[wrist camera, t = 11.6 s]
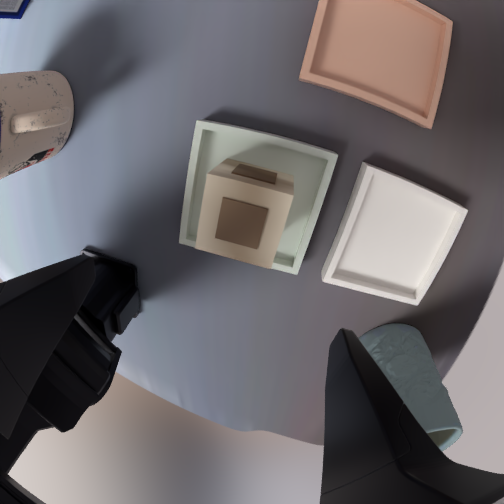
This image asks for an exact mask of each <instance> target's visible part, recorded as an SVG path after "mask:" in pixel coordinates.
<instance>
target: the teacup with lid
mask: <svg viewBox="0 0 504 504" xmlns="http://www.w3.org/2000/svg"><path fill="white" fill-rule="evenodd" d="M73 116H74V100H73V94H72V90H71V87H70V85H69V83H68V81H67V79H66V78H65V77H64V76H63V75H62V74H60V73H59V72H56V71H29V72H17V73H7V74H0V179H2V178H4V177H6V176H8V175H10V174H13V173H15V172H17V171H19V170H22V169H24V168H26V167H29V166H31V165H34V164H36V163H39V162H41V161H44V160H46V159H49V158H51V157H53V156H54V155H56V154H57V153H58V152H59V151H60V150H61V149H62V147H63V146H64V144H65V142H66V140H67V138H68V136H69V133H70V130H71V127H72V122H73Z"/></svg>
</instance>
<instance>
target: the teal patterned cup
mask: <svg viewBox="0 0 504 504" xmlns="http://www.w3.org/2000/svg"><path fill="white" fill-rule="evenodd" d="M358 339H359V340H360V341H361V343H362V344H363V345H364V347H365V348H366V350H367V351H368V352H369V354H370V355H371V356H372V358H373V359H374V361H375V362H376V363H377V365H378V366H379V367H380V369H381V370H382V372H383V373H384V374H385V376H386V377H387V379H388V380H389V381H390V383H391V384H392V386H393V387H394V389H395V390H396V391H397V393H398V394H399V396H400V397H401V399H402V400H403V401H404V403H405V404H406V406H407V407H408V409H409V410H410V411H411V413H412V414H413V416H414V417H415V418H416V420H417V421H418V422H419V424H420V425H421V426H422V428H423V429H424V430H425V431H426V433H427V434H428V435H429V436H430V437H431V439H432V440H433V441H434V442H435V444H436V445H437V446H438V447H439V448H440V450H441V451H444V450H445V449H447V448H448V447H450V446H451V445H452V444H453V443H455V442H456V441H457V440H458V439H459V437H460V436H461V434H462V432H463V430H462V426H461V423H460V420H459V418H458V415H457V413H456V411H455V409H454V407H453V404H452V402H451V400H450V397H449V395H448V391H447V389H446V388H445V386H444V385H443V384H442V380H441V378H440V375H439V372H438V370H437V369H436V365H435V363H434V361H433V360H432V356H431V352H430V350H429V348H428V346H427V344H426V342H425V341H424V339H423V337H422V335H421V333H420V331H418V330H417V329H416V328H414V327H413V326H410V325H407V324H400V323H398V324H396V323H394V324H387V325H383V326H380V327H377V328H375V329H372V330H370V331H368V332H367V333H365V334H363V335H362V336H361V337H359V338H358ZM404 403H403V404H404Z"/></svg>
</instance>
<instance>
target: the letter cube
mask: <svg viewBox="0 0 504 504" xmlns="http://www.w3.org/2000/svg"><path fill="white" fill-rule="evenodd" d="M293 197H294V176H293V175H290V174H286V173H283V172H279V171H276V170H272V169H268V168H264V167H260V166H257V165H253V164H249V163H245V162H240V161H236V160H232V159H228V158H227V159H225V160H224V161H223V162H221V163H220V164H219V165H217V166H216V167H215V168H214V169H212V170H211V171H210V172H208V173H207V178H206V183H205V189H204V195H203V200H202V206H201V212H200V219H199V225H198V232H197V238H196V245H195V249H199V250H203V251H206V252H210V253H213V254H217V255H221V256H224V257H228V258H231V259H235V260H239V261H242V262H246V263H250V264H253V265H257V266H261V267H264V268H268V269H271V267H272V264H273V261H274V258H275V255H276V251H277V248H278V245H279V242H280V239H281V236H282V232H283V229H284V226H285V223H286V220H287V216H288V213H289V210H290V207H291V203H292V200H293Z"/></svg>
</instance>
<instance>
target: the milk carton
mask: <svg viewBox="0 0 504 504" xmlns="http://www.w3.org/2000/svg"><path fill="white" fill-rule="evenodd" d="M29 1H30V0H0V18H11V19H21V17H22V15H23V13H24V11H25V9H26V7H27V5H28V3H29Z"/></svg>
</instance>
